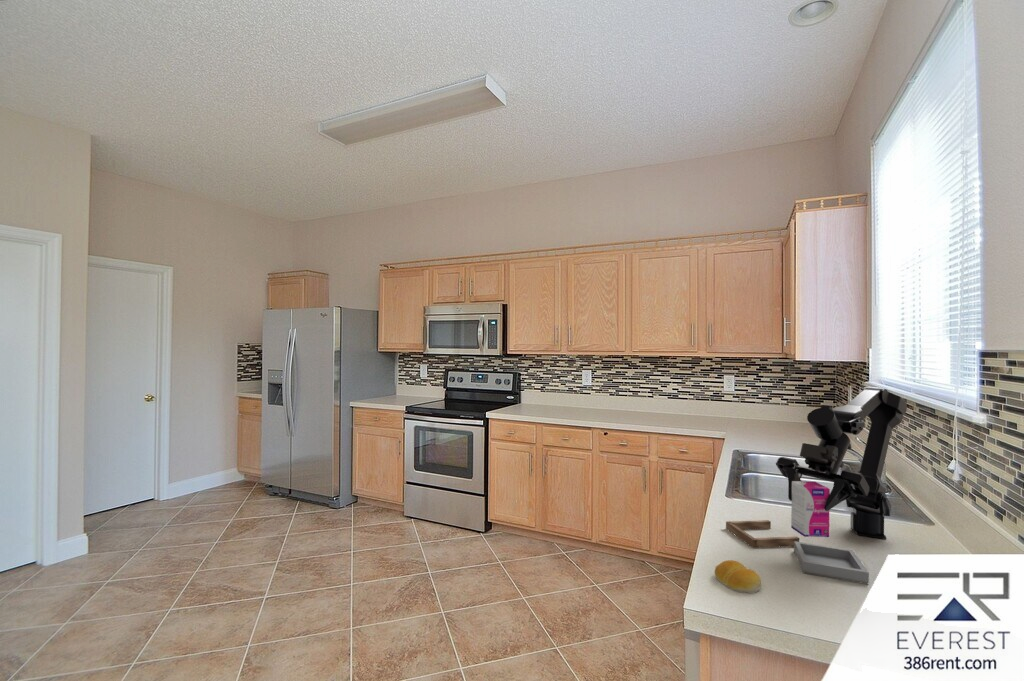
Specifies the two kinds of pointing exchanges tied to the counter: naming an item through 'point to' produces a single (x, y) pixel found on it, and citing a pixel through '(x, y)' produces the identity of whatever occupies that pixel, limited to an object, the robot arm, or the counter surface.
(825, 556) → the grey tray
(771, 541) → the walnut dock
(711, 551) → the counter surface
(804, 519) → the supplement box
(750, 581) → the bread roll
